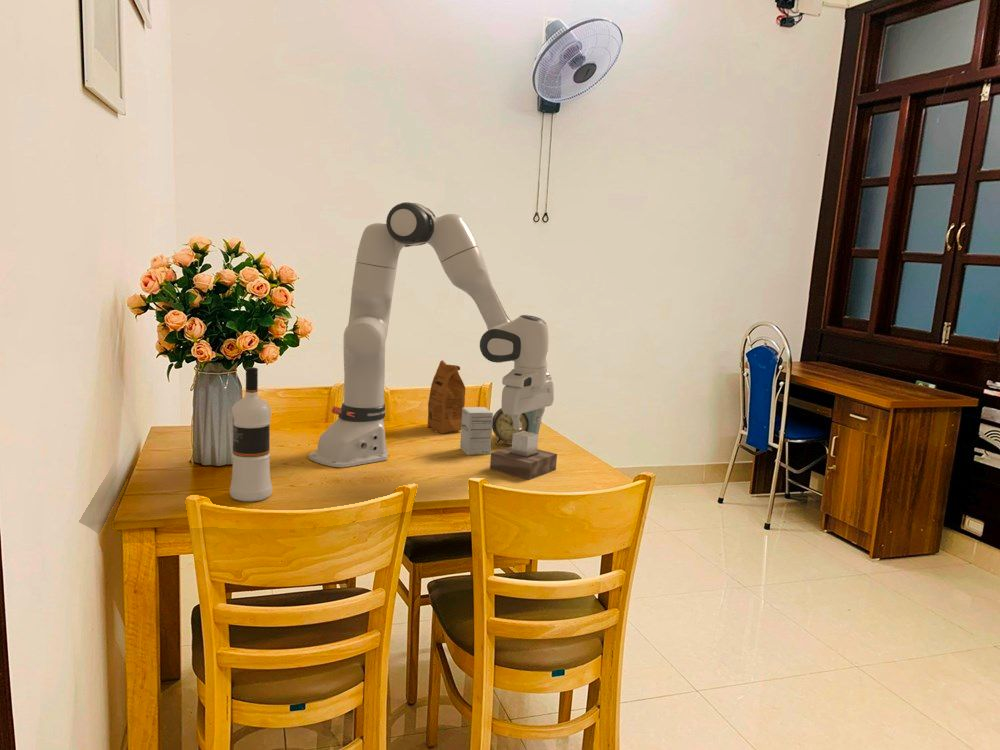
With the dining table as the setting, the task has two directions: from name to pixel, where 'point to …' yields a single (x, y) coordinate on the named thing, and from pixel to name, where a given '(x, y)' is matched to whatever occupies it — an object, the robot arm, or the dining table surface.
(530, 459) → the pocket block
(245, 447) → the vodka
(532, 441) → the grey peg
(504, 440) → the alarm clock
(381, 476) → the dining table surface
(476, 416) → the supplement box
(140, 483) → the dining table surface
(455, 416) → the coffee package
